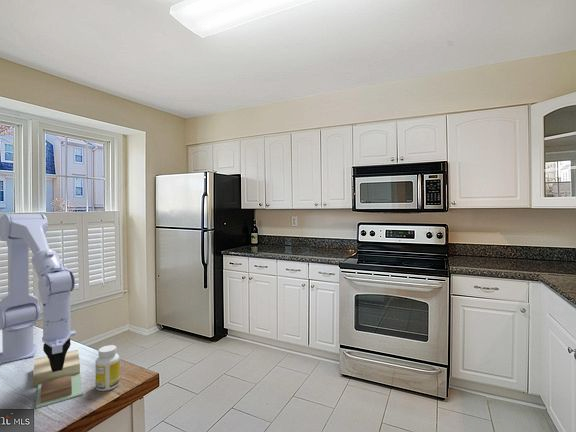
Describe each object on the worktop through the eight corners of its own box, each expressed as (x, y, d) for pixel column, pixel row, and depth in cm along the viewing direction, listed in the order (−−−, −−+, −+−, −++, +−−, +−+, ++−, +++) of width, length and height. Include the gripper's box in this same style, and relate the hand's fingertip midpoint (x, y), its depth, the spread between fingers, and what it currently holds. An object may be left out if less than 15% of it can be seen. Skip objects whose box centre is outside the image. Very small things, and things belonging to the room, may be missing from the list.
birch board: (35, 369, 88) (35, 358, 88) (77, 359, 94) (77, 349, 94) (33, 386, 80) (32, 375, 80) (79, 374, 86) (79, 363, 86)
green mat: (38, 385, 81) (38, 384, 81) (80, 374, 86) (80, 373, 86) (35, 408, 72) (35, 406, 72) (82, 395, 77) (82, 393, 77)
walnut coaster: (40, 394, 73) (40, 403, 73) (71, 386, 77) (71, 394, 77) (41, 382, 78) (41, 390, 78) (71, 375, 82) (71, 382, 82)
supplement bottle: (120, 378, 85) (120, 342, 85) (119, 388, 80) (119, 351, 80) (96, 382, 83) (96, 345, 82) (94, 393, 78) (94, 355, 78)
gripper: (77, 323, 78) (77, 377, 78) (74, 307, 89) (74, 354, 90) (40, 330, 73) (41, 387, 74) (42, 312, 85) (43, 361, 86)
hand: (57, 369), depth 82 cm, fingers closed
